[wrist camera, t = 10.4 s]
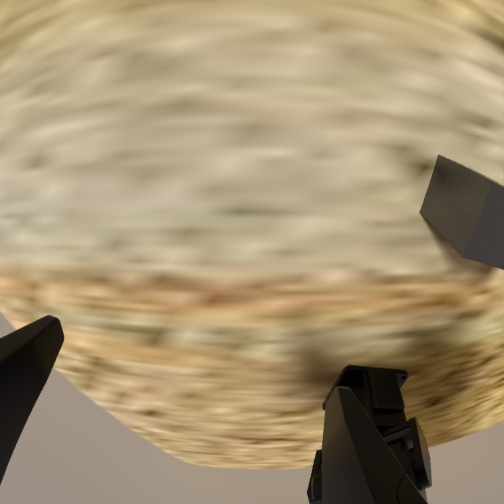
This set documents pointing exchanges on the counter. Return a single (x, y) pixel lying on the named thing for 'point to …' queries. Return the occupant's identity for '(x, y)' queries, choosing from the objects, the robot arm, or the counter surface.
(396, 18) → the counter surface
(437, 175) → the grey hammer
